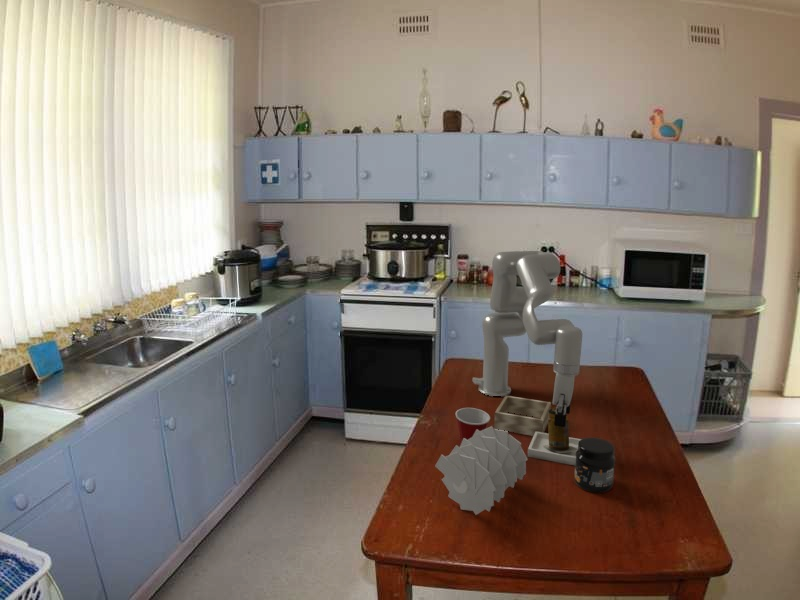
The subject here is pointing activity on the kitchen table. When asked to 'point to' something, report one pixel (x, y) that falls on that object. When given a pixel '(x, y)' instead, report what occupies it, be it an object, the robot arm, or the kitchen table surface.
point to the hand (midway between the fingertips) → (562, 419)
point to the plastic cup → (471, 421)
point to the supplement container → (594, 465)
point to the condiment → (558, 435)
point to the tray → (541, 452)
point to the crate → (522, 422)
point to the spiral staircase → (482, 469)
